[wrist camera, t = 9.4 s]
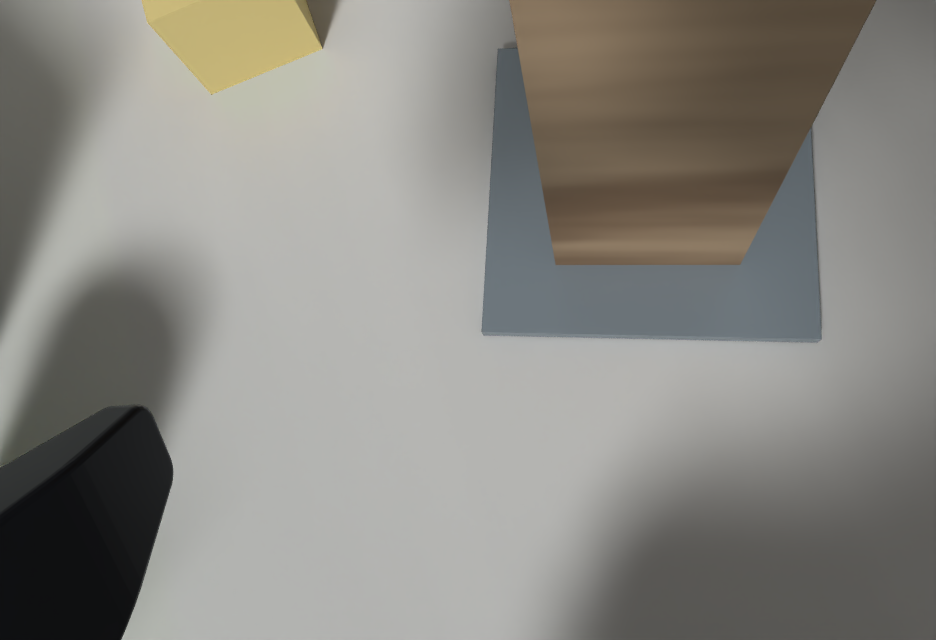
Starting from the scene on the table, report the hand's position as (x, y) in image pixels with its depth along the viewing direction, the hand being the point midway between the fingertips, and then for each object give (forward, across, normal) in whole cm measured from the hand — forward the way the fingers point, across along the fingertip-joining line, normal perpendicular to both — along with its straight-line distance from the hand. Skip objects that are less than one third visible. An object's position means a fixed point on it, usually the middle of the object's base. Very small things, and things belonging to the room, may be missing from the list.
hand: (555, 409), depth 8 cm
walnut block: (+15, -2, +4) cm, 16 cm away
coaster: (+16, -2, +4) cm, 16 cm away
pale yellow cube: (+21, +10, -1) cm, 23 cm away
